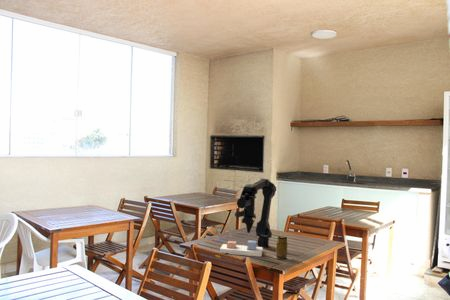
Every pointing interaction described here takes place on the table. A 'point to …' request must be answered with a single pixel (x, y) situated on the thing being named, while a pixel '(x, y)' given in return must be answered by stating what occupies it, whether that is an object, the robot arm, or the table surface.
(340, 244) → the table surface
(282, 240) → the condiment
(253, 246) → the slate key
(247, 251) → the key panel
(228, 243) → the terracotta key
